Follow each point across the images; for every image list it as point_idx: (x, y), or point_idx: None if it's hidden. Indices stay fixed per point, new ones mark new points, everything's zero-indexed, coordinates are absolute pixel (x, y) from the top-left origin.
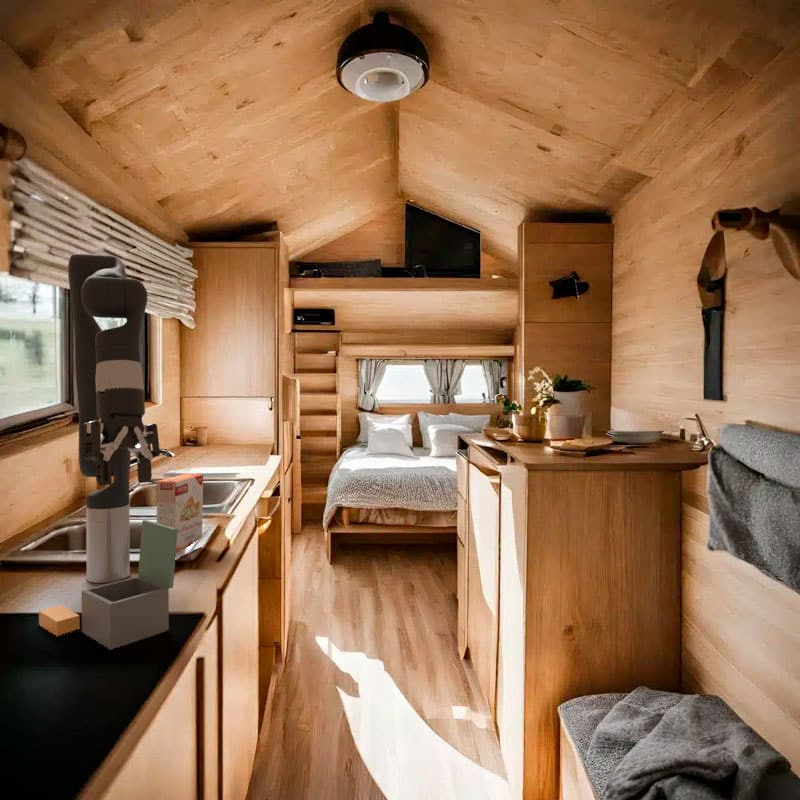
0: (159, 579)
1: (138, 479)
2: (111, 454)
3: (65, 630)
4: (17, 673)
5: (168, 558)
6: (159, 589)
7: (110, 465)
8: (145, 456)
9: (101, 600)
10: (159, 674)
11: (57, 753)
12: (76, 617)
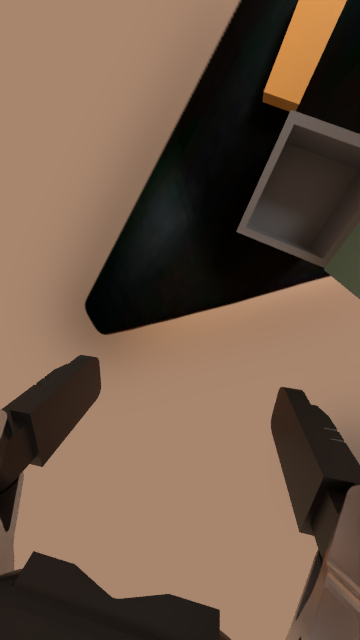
0: (350, 240)
1: (286, 393)
2: (14, 513)
3: (274, 103)
4: (163, 170)
5: (353, 277)
6: (316, 257)
7: (54, 449)
8: (311, 570)
9: (249, 202)
10: (207, 306)
11: (110, 306)
12: (293, 103)
